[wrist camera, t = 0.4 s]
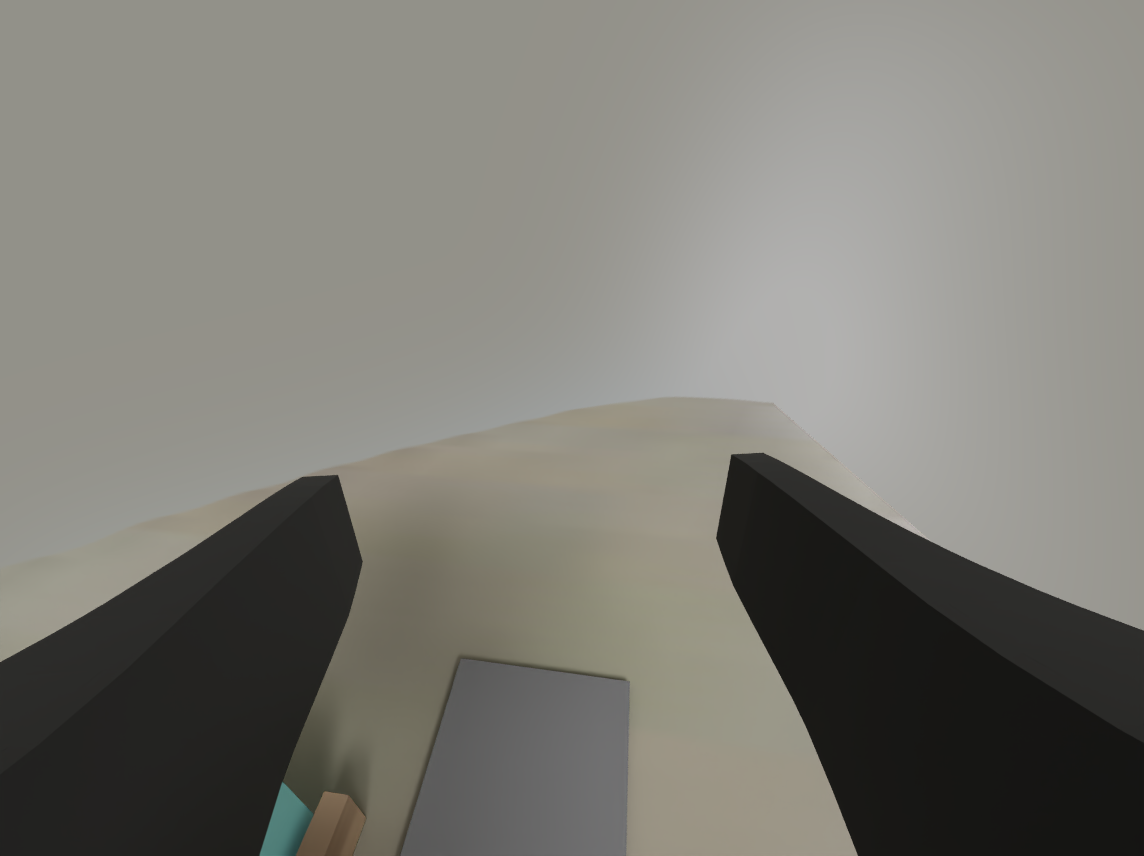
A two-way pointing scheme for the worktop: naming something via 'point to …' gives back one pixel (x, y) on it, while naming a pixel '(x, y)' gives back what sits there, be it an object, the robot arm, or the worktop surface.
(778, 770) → the worktop surface
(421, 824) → the coaster
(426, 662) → the worktop surface
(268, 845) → the block
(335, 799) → the channel
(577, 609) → the worktop surface
